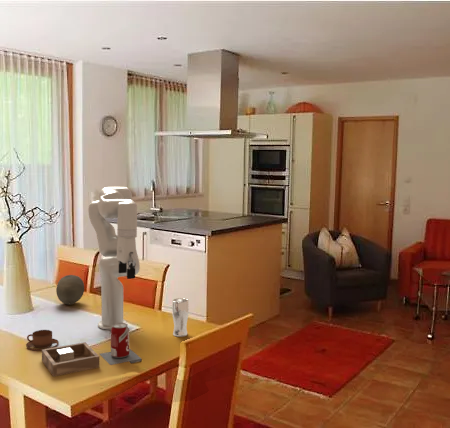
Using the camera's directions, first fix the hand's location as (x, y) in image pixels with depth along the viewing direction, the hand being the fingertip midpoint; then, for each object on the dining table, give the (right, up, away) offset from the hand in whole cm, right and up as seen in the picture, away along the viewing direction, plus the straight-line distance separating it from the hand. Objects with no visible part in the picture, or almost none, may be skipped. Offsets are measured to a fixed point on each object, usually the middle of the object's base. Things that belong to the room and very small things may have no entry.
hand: (126, 275), depth 205 cm
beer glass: (+20, -27, +16) cm, 37 cm away
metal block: (-19, -29, -18) cm, 39 cm away
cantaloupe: (-39, -22, +56) cm, 72 cm away
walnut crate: (-16, -30, -20) cm, 40 cm away
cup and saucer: (-33, -28, -3) cm, 43 cm away
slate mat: (0, -30, -12) cm, 32 cm away
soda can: (0, -29, -12) cm, 31 cm away
